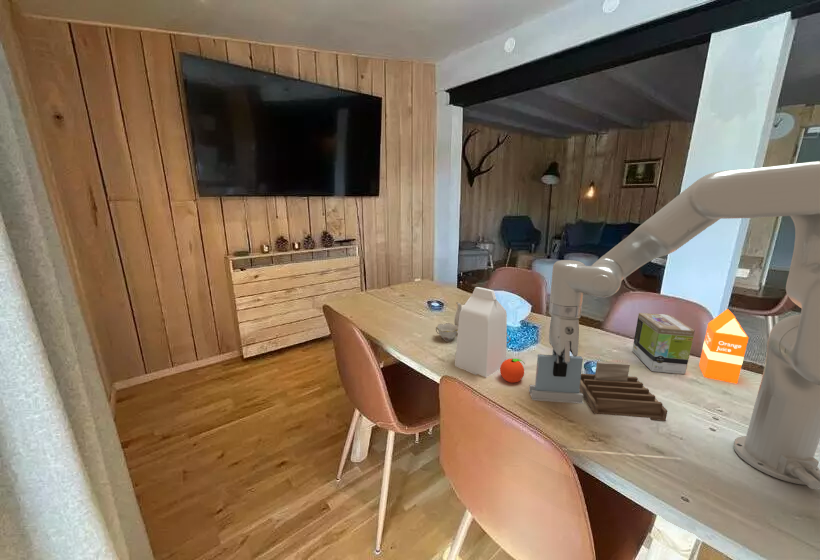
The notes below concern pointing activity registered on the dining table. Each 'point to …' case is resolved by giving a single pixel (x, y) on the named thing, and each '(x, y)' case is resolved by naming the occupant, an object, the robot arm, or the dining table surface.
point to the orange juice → (723, 348)
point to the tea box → (663, 343)
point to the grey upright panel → (555, 383)
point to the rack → (619, 393)
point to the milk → (481, 334)
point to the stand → (555, 396)
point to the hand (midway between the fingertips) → (558, 373)
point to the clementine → (512, 370)
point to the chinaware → (451, 327)
